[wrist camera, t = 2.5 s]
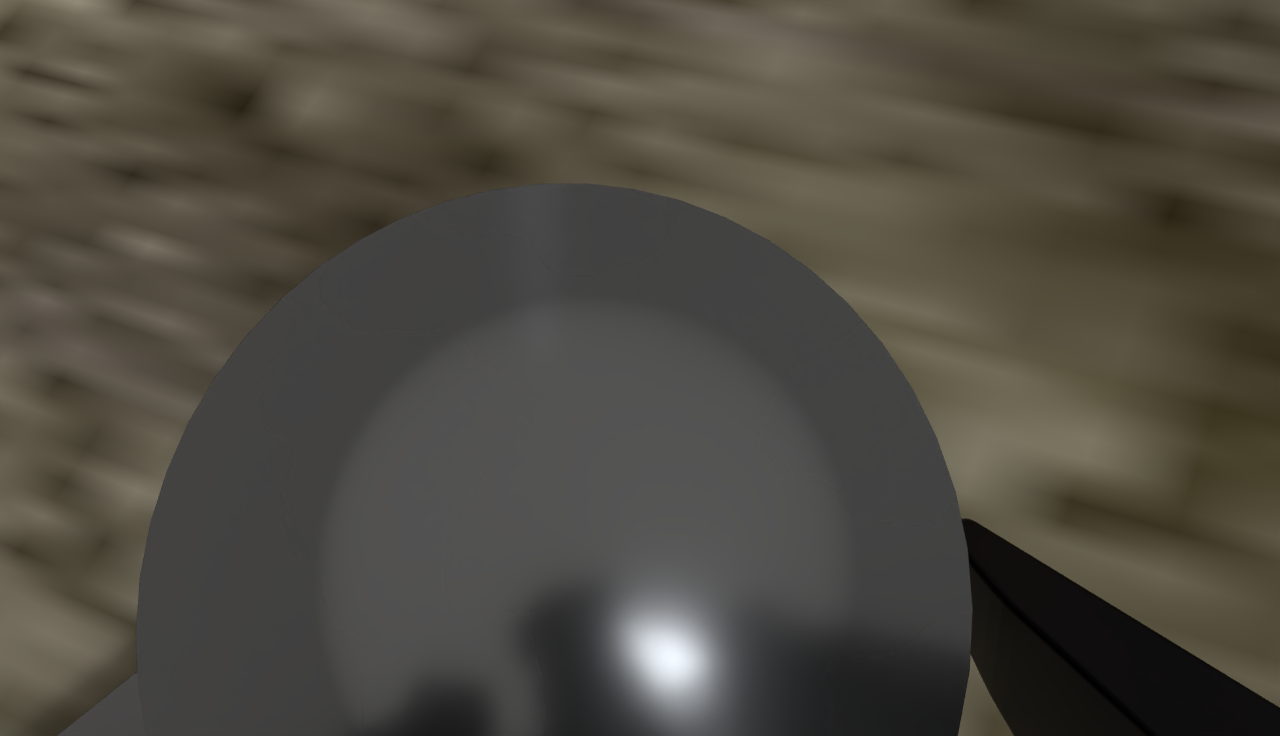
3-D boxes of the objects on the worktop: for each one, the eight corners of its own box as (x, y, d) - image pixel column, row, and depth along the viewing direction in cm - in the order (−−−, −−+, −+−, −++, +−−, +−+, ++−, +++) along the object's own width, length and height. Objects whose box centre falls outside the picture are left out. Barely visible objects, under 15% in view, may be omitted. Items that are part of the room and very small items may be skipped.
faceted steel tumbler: (837, 557, 17) (1171, 631, 5) (618, 751, 16) (440, 1334, 5) (656, 349, 18) (603, 50, 7) (450, 518, 18) (-1, 505, 6)
